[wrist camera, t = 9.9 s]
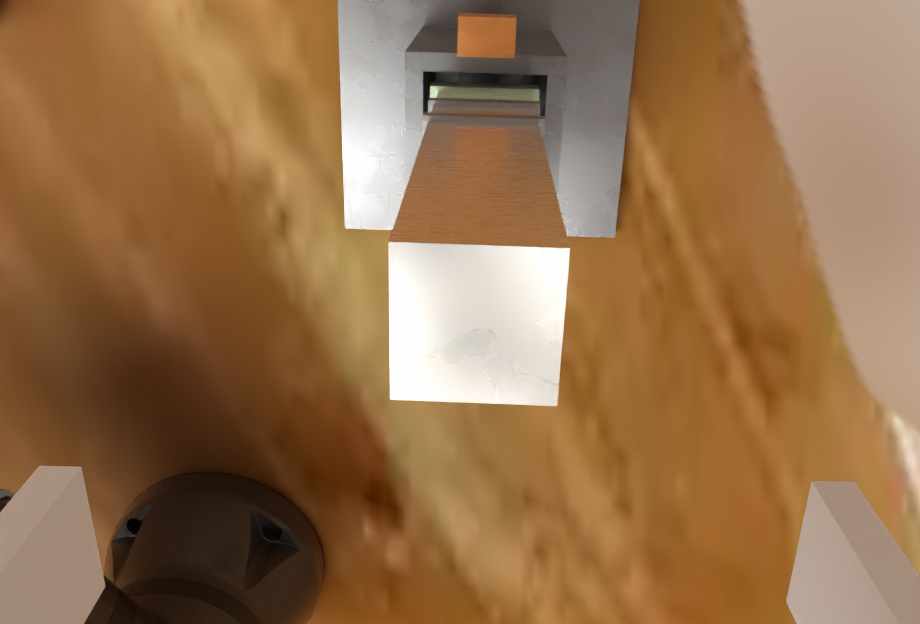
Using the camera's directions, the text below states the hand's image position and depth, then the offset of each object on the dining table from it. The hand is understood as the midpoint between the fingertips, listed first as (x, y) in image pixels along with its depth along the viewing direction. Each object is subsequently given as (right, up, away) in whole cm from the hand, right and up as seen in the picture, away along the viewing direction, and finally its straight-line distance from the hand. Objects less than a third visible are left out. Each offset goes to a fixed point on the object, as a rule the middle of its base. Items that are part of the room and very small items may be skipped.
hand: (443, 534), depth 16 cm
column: (+1, +13, +24) cm, 27 cm away
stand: (+2, +16, +32) cm, 36 cm away
